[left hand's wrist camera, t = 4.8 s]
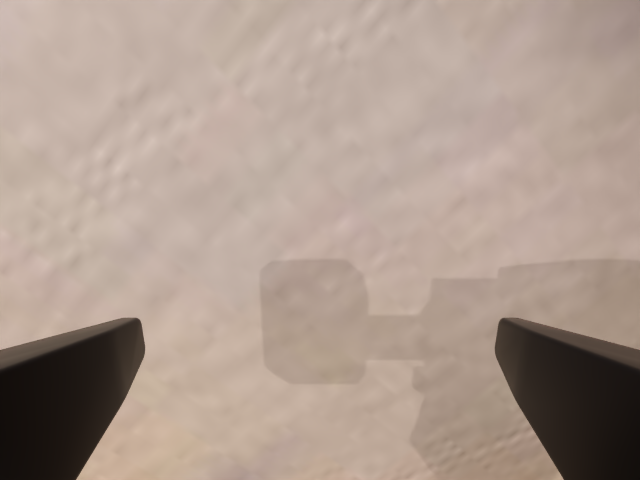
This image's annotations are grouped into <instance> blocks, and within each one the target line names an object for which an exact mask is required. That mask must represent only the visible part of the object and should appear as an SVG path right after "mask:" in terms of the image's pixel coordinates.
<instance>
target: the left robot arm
mask: <svg viewBox="0 0 640 480" xmlns="http://www.w3.org/2000/svg"><path fill="white" fill-rule="evenodd" d="M144 354H145V343H144V337H143V331H142V324H141V321H140V320H139V319H138V318H121V319H117V320H113V321H109V322H105V323H101V324H98V325H94V326H90V327H86V328H82V329H79V330H75V331H71V332H67V333H63V334H60V335H56V336H52V337H48V338H44V339H41V340H37V341H33V342H29V343H25V344H22V345H18V346H14V347H10V348H6V349H2V350H0V480H76V479H77V477H78V476H79V474H80V472H81V471H82V469H83V467H84V466H85V464H86V462H87V461H88V459H89V458H90V456H91V454H92V453H93V451H94V449H95V448H96V446H97V444H98V443H99V441H100V439H101V438H102V436H103V435H104V433H105V431H106V430H107V428H108V426H109V425H110V423H111V421H112V420H113V418H114V417H115V415H116V413H117V412H118V410H119V408H120V407H121V405H122V403H123V401H124V400H125V398H126V396H127V394H128V391H129V389H130V387H131V385H132V382H133V380H134V378H135V376H136V374H137V371H138V369H139V367H140V365H141V362H142V360H143V358H144ZM495 354H496V358H497V360H498V362H499V365H500V367H501V369H502V371H503V374H504V376H505V378H506V380H507V382H508V385H509V387H510V389H511V391H512V394H513V396H514V398H515V400H516V401H517V403H518V405H519V407H520V408H521V410H522V412H523V413H524V415H525V417H526V418H527V420H528V421H529V423H530V425H531V426H532V428H533V430H534V431H535V433H536V435H537V436H538V438H539V439H540V441H541V443H542V444H543V446H544V448H545V449H546V451H547V453H548V454H549V456H550V458H551V459H552V461H553V462H554V464H555V466H556V467H557V469H558V471H559V472H560V474H561V476H562V477H563V479H564V480H640V350H638V349H634V348H630V347H626V346H622V345H619V344H615V343H611V342H607V341H603V340H599V339H596V338H592V337H588V336H584V335H580V334H577V333H573V332H569V331H565V330H561V329H558V328H554V327H550V326H546V325H542V324H539V323H535V322H531V321H527V320H523V319H519V318H502V319H501V320H500V321H499V324H498V331H497V337H496V343H495Z"/></svg>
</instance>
